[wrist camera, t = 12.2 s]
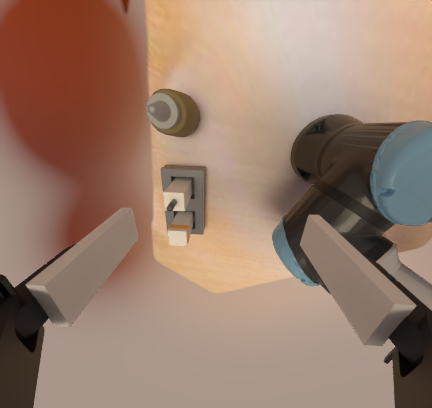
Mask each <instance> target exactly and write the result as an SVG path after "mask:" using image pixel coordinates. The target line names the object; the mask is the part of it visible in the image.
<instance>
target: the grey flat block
mask: <svg viewBox="0 0 432 408" xmlns="http://www.w3.org/2000/svg"><path fill="white" fill-rule="evenodd" d="M161 176H162V186H163V192H164V191H165V189H166V188H167V187H168V186H169V185H170V184H171V183H172V182H173V181H174V179H175V178H176V177H193V194H192V196H191V198H190V200H189V203H188V205H187V207H186V209H185V211H194V219H195V221H194V224H193V228H192V231H191V234H201V235H203V233H204V228H205V167H198V166H178V165H165V166H164V167H162V168H161ZM177 212H178V211H171V212H169V211H167V210H165V213H166V222H167V231H168V229H169V227H170V225H171V224H172V222H173V220H174V218H175V216H176V214H177Z"/></svg>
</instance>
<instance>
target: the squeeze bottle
mask: <svg viewBox="0 0 432 408" xmlns="http://www.w3.org/2000/svg"><path fill="white" fill-rule="evenodd" d="M146 110H147V116H148V118H149V120H150V121H151V123H152V125H153V126H154V127H155V128H156V129H157V130H158V131H159V132H161V133H164V134H166V135H171V136H176V137H186V136H188V135H190V134H192V133H193V132H194V131H195V129H196V128H197V125H198V123H199V111H198V108H197V105H196V103H195V102H194V101H193V100H192V98H191V97H190V96H188V95H186V94H184V93H182V92H178V91H175V90H171V89H160V90H158V91H156V92H154V93H153V95H152V96H151V97H150V98H149V100H148V102H147V106H146Z"/></svg>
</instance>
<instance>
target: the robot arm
mask: <svg viewBox="0 0 432 408" xmlns="http://www.w3.org/2000/svg"><path fill="white" fill-rule="evenodd" d="M291 163H292V167H293V169H294V171H295V173H296V174H297V175H298V176H299V177H300V178H302V179H303V180H305V181H307V182H309V183H312V184H314V185H313V186H312V187H311V188H310V189H309V190H308V192H307V193H306V194H305V195H304V196H303V197H302V198H301V199H300V201H299V202H298V203H297V204H296V205H295V206H294V207H293V208H292V209H291V211H290V212H289V213H288V214H287V215H285V216H284V217H283V218H282V221H281V222H280V223H279V225H278V226H277V227H276V228H275V230H274V231H273V235H272V240H273V245H274V248H275V250H276V253H277V254H278V256H279V258H280V259H281V261H282V262H283V264H284V265H285V266H286V268H287V269H288V270H289V271H290V272H291V273H292V274H293V275H294V276H295V277H296V278H297V279H300V280H301V281H302V282H303V283H304V284H306V285H308V286H319V285H322V287H324V288H325V290H326V291H327V292H328V293H329V294H331V295H332V296H333V298H334V299H335V301H336V302H337V304H338V305H339V307H340V309H341V310H342V312H343V313H344V315H345V316H346V318H347V320H348V321H349V323H350V324H351V326H352V327H353V329H354V330H355V332H356V333H357V335H358V337H359V338H360V340H361V341H362V343H363V344H364V345H375V346H382V345H383V344H384V343H385V342H386V340H387V339H388V338H389V339H390V340H391V341H392V343H393V344H394V345H395V346H396V347H395V348H394V349H393V350H392V351H391V352H390V353H389V354H388V355H387V356H386V357H385V359H384V362H385V363H387V364H388V363H389V362H390V361H391V360H393V375H394V376H393V377H394V396H395V397H394V398H395V408H432V284H430V283H429V282H428V281H426V280H425V279H423V278H422V277H420V276H419V275H418V274H416V273H415V272H413V271H412V270H411V269H409V268H408V267H406V266H405V265H404V264H402V263H401V262H400V260H399V258H398V252H397V247H396V244H394V243H393V242H391V241H390V240H388V239H387V238H385V237H384V236H383V235H382V234H383V233H384V232H385V231H387V230H388V229H389V228H391V227H392V226H393V225H395V224H401V225H408V226H420V225H425V224H426V223H427V222H432V122H428V121H425V122H424V121H412V122H399V123H365V124H364V123H362V122H361V121H359V120H357V119H355V118H353V117H351V116H348V115H341V114H338V115H328V116H324V117H321V118H319V119H316V120H315V121H313V122H311V123H310V124H309V125H307V126H306V127H305V128H304V129H303V130H302V131H301V133H300V134H299V135H298V137H297V138H296V140H295V142H294V145H293V147H292V152H291ZM138 238H139V237H138V233H137V229H136V224H135V220H134V215H133V211H132V208H121V209H120V210H118V211H117V212H116V213H115V214H113V215H112V216H111V217H110V218H108V219H107V220H106V221H105V222H103V223H102V224H101V225H100V226H98V227H97V228H96V229H95V230H94V231H92V232H91V233H90V234H88V235H87V236H86V237H84V238H83V239H82V240H81V241H79V242H78V243H77V244H74V245H72V246H70V247H68V248H66V249H65V250H63V251H62V252H60V253H59V254H58V255H56V256H55V258H53V259H52V260H50V261H49V262H47V264H45V265H44V266H43V267H41V268H40V269H38V270H37V271H36V272H34V273H33V274H32V275H31V276H29V277H28V278H27V279H25V280H24V281H23V282H22V283H20V284H19V285H18V286H16V287H15V288H14V287H13V286H12V285H11V283H10V282H9V281H8V279H7V278H6V277H5V276H3V275H0V408H33V405H34V398H35V391H36V384H37V378H38V371H39V364H40V358H41V351H42V344H43V338H44V327H43V324H44V323H45V322H46V321H47V319H48V318H49V319H50V320H51V322H52V323H53V325H54V326H66V327H70V326H71V325H72V324H73V323H74V321H75V320H76V319H77V318H78V316H79V315H80V314H81V312H82V311H83V310H84V308H85V307H86V306H87V305H88V303H89V302H90V301H91V299H92V298H93V297H94V295H95V294H96V293H97V291H98V290H99V289H100V288H101V286H102V285H103V283H104V282H105V281H106V280H107V278H108V277H109V276H110V274H111V273H112V272H113V271H114V269H115V268H116V267H117V265H118V264H119V263H120V261H121V260H122V259H123V258H124V256H125V255H126V254H127V252H128V251H129V250H130V248H131V247H132V246H133V244H134V243H135V242H136V240H137V239H138Z"/></svg>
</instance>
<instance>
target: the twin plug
mask: <svg viewBox="0 0 432 408" xmlns="http://www.w3.org/2000/svg"><path fill="white" fill-rule="evenodd" d="M192 194H193V177H176V178H175V179H174V181H173V182H172V183H171V184H170V185H169V186H168V187H167V188H166V189H165V191H164V192H163V195H164V204H165V210H167V211H169V212H171V211H185V209H186V207H187V205H188V203H189V200H190V198H191V196H192Z"/></svg>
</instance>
